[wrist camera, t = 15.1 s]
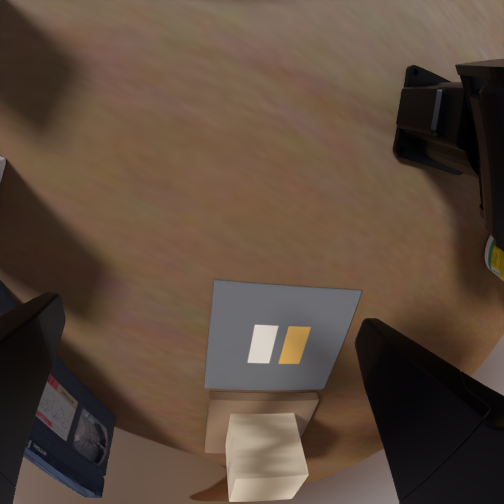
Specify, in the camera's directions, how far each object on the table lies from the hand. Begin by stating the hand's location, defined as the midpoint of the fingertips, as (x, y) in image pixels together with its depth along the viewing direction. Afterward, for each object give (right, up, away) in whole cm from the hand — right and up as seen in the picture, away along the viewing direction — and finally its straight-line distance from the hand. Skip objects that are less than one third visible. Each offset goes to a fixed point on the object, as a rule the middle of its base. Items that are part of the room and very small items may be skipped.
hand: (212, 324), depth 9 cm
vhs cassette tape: (-17, -8, +15) cm, 25 cm away
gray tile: (+3, -5, +16) cm, 17 cm away
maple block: (+2, -16, +20) cm, 25 cm away
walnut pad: (+1, -15, +21) cm, 26 cm away
